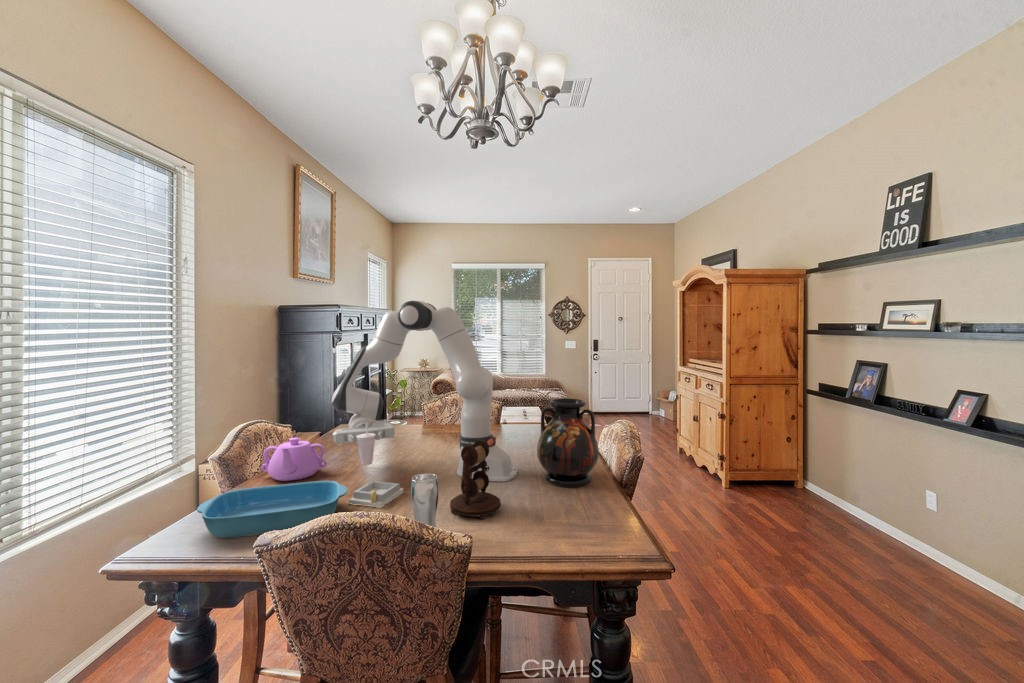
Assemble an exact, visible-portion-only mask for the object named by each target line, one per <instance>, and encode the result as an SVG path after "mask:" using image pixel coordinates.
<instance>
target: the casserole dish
mask: <svg viewBox="0 0 1024 683" xmlns="http://www.w3.org/2000/svg"><path fill="white" fill-rule="evenodd" d="M347 494H348V487H347V486H346V485H343V484H340V483H339V482H338V481H336V480H335V481H334V480H316V481H307V482H306V481H305V482H304V481H303V482H296V483H295V482H294V483H287V484H285V483H283V484H276V485H265V486H257V487H248V488H241V489H240V488H239V489H234V490H230V491H226V492H224V493H223V492H222V493H220V494H218V495H217V496H215V497H213V498H211V499H208V500H206V501H204V502H202V503H201V504H199V505H198V507H197V508H196V512H197V513H199V514H201V517H202V519H203V523H204V524H205V526H206V530H207V531H208V532H209V533H210V534H211V535H212V536H214V537H216V538H219V539H232V538H242V537H243V538H244V537H250V536H257V535H263V534H262V533H265V532H269V531H273V530H283V529H288V528H292V527H295V526H297V525H300V524H302V523H305V522H308V521H310V520H313V519H315V518H318V517H321V516H324V515H328V514H332V513H334V514H335V513H336V509H337V507H338V504H339V503H338V502H339V500H340V498H341V497H344V496H346V495H347Z"/></svg>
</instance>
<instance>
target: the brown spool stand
mask: <svg viewBox="0 0 1024 683" xmlns="http://www.w3.org/2000/svg"><path fill="white" fill-rule="evenodd" d="M460 451H461V450H460ZM488 454H489V447H488V445H487V443H486V442H484V441H482V440H478V441H476V442H475V443H474V444H473V446H470V445H467V446H465V447H463V449H462V451H461V458H462V460H463V472H462V477H461V479H460V480H461V482H460V489H461V494H458V495H456V496H455V497H453V498H452V499H451V500H450V502H449V509H450V511H451V514H453V515H454V514H457V515H460V516H465V517H466V516H467V517H479V518H480V520H481V521H483V519H484V518H485V516H487V515H490V514H493V513H495V512H497V511H499V509H501V505H502V504H501V501H502V500H501V499H500V498H499V497H498V496H497V495H495V494H493V493H490V492H487V491H486V490H487V488H488V487H489V485H490V481H489V478H488V476H487V474H486V472H485V468H486V466H487V462H486V461H485V459H486V457H487V456H488ZM478 463H479V464H478ZM476 464H478V465H476ZM475 465H476V466H475ZM479 468H481V469H482V470H481V471H477V470H479ZM475 471H477V472H475ZM473 472H475V473H474V475H473V479H472V473H473Z"/></svg>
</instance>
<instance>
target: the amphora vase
mask: <svg viewBox="0 0 1024 683" xmlns="http://www.w3.org/2000/svg"><path fill="white" fill-rule="evenodd" d="M548 405H550V406H551V407H552V408H551V407H550V406H549V407H545V408H542V409H543V410H542V412H541V414H540V436H539V439H538V441H537V447H536V456H537V460H538V462H539V463H540V465H541V467H542V469H544V471H545V472H544V475H543V478H544V479H545V481H546V482H548V483H549V484H552V485H555V486H557V487H563V488H564V487H565V488H574V487H575V488H576V487H582V486H584V485H585V486H586V484H589V482H591V480H592V474H591V471H592V470H593V469H594V468H595V467H596V465H597V463H598V460H599V453H600V452H599V446H598V442H597V439H596V420H595V418H596V417H595V414H594V412H593V411H592V410H591V409H587V408H585V409H583V410H582V411H581V409H582V408H583V407H585V406H587V403H586V401H585V400H582V399H577V398H555V399H551V400H549V402H548ZM553 408H554V409H553ZM546 412H550V413H551V414H552V415H551V416H552V418H551V420H550V421H549V422H548V423H547V424H545V423H546V421H545V417H546ZM584 414H589V416H590V421H591V425H590V426H591V427H589V425H588V424H587V423H586V422H585V420H584V419H583V415H584Z"/></svg>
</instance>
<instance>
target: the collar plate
mask: <svg viewBox="0 0 1024 683" xmlns="http://www.w3.org/2000/svg"><path fill="white" fill-rule="evenodd" d="M400 486H401V484H400V483H397V482H396V483H395V482H389V481H388V482H386V481H379V480H377V481H376V480H371V481H369V482H368V483H366V484H365V485H363V486H360V487H359V488H357V489H356V490H354V491H353V496H352V497H351V498H350V499H349V500H348V503H352V504H361V505H370V506H373V507H377V508H376V509H380V508H381V509H383V508H382V506H383V505H385V504H387V503H388V504H390V503H391V502H392V500H393V499H394V500H396V499H397V498H398V497H400V496H401V495H403V494H404V493H403V492H404V488H402V487H400ZM402 493H403V494H402ZM400 494H401V495H400ZM399 495H400V496H399ZM396 497H397V498H396ZM395 498H396V499H395ZM394 500H393V501H394ZM390 501H391V502H390ZM389 502H390V503H389ZM388 504H387V505H388ZM385 506H386V505H385Z"/></svg>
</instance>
